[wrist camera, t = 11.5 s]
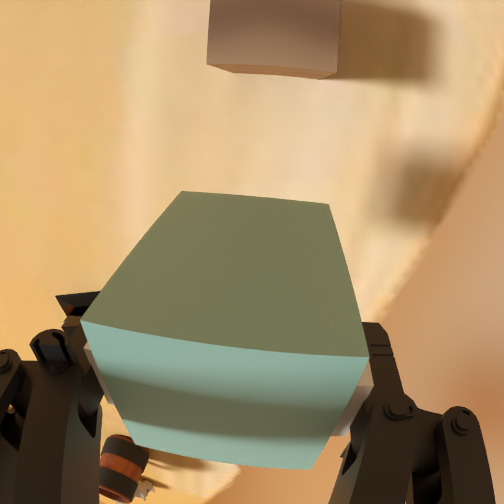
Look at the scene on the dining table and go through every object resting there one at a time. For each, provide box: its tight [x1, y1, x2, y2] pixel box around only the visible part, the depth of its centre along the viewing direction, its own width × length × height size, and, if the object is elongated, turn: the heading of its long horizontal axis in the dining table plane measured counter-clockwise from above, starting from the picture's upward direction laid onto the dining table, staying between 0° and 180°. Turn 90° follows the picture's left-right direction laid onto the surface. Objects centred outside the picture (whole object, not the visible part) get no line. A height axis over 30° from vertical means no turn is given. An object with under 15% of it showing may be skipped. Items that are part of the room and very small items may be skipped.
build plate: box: [55, 291, 101, 339], centre depth 31 cm, size 12×7×5 cm, turn 103°
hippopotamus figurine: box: [113, 480, 155, 504], centre depth 56 cm, size 7×12×8 cm, turn 73°
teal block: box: [80, 191, 370, 469], centre depth 11 cm, size 6×6×8 cm
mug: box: [99, 435, 149, 504], centre depth 44 cm, size 9×12×12 cm
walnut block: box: [207, 0, 341, 80], centre depth 15 cm, size 6×6×8 cm
